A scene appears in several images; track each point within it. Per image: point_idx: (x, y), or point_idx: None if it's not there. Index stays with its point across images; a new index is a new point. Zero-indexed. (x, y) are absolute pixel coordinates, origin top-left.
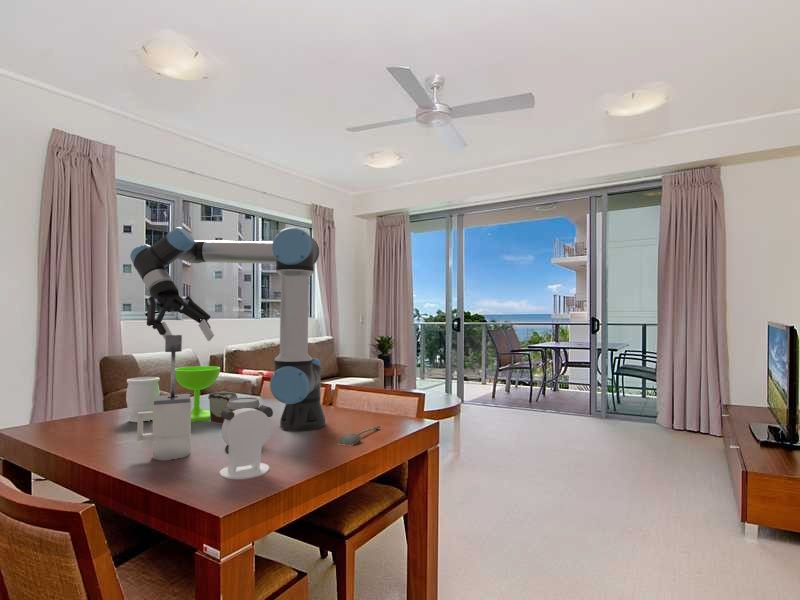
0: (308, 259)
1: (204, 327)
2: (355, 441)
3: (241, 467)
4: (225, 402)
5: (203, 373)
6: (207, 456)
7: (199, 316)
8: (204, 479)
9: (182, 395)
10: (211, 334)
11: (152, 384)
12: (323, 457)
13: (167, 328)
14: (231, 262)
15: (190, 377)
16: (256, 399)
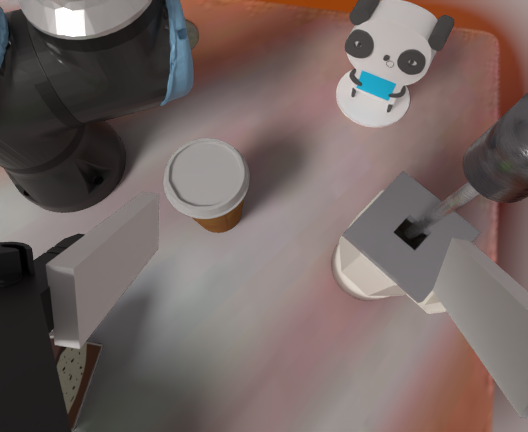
0: None
1: (117, 258)
2: (186, 20)
3: (367, 104)
4: (63, 360)
5: None
6: (340, 197)
7: (43, 315)
8: (428, 122)
9: (378, 228)
10: (154, 198)
11: None
12: (269, 36)
13: (517, 291)
14: None
15: None
16: (176, 156)
